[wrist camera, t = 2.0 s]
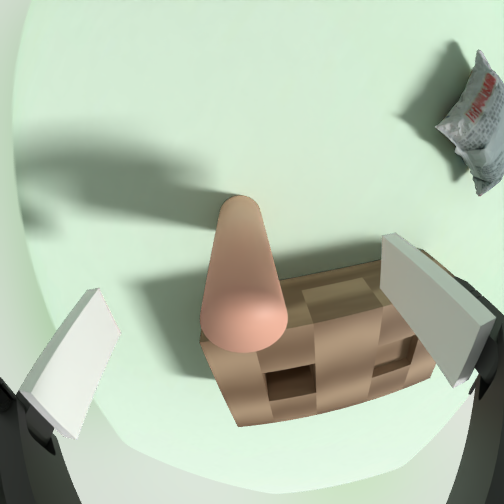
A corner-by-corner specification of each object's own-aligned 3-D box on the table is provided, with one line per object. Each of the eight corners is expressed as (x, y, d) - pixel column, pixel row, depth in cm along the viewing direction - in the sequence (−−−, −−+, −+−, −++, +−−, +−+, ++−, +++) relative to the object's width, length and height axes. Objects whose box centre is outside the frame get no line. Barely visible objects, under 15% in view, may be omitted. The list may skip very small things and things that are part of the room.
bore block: (207, 293, 23) (199, 342, 17) (423, 249, 22) (461, 281, 17) (237, 381, 28) (238, 427, 22) (407, 342, 27) (429, 377, 22)
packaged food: (417, 125, 18) (457, 130, 13) (466, 50, 14) (501, 46, 9) (464, 191, 20) (499, 208, 16) (506, 115, 16) (538, 121, 12)
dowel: (215, 199, 20) (188, 293, 9) (256, 191, 19) (282, 276, 9) (224, 238, 21) (212, 357, 10) (263, 230, 21) (291, 345, 10)
